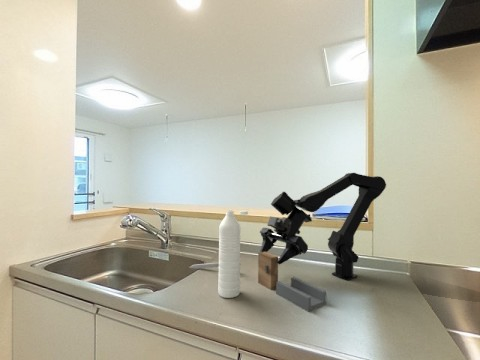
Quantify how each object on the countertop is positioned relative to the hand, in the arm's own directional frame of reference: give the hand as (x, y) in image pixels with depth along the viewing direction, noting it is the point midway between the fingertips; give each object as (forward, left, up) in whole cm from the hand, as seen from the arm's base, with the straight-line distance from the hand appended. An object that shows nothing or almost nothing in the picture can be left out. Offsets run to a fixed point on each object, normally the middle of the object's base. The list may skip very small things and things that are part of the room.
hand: (268, 259), depth 77 cm
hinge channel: (-2, +12, -8) cm, 15 cm away
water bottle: (+13, -1, -8) cm, 16 cm away
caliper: (+10, -21, -9) cm, 25 cm away
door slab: (0, 0, -8) cm, 8 cm away
